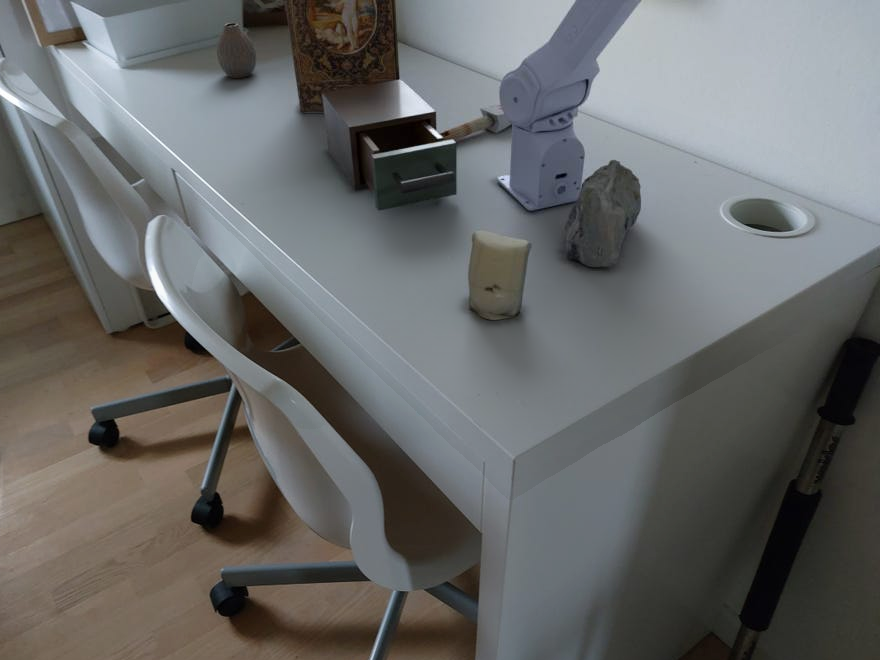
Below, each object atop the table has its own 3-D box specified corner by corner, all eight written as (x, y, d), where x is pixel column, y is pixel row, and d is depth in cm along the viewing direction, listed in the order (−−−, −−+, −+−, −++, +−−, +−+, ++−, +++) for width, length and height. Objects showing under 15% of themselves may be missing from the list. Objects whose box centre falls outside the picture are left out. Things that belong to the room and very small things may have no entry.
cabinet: (437, 174, 96) (436, 111, 91) (355, 191, 94) (348, 127, 88) (403, 137, 106) (401, 79, 101) (328, 152, 104) (321, 92, 98)
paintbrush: (546, 96, 108) (440, 137, 100) (545, 113, 109) (441, 155, 102) (529, 89, 110) (424, 129, 103) (528, 106, 112) (425, 147, 104)
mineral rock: (619, 207, 87) (632, 126, 80) (685, 245, 79) (705, 160, 73) (532, 236, 82) (539, 153, 76) (593, 279, 75) (606, 192, 69)
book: (297, 113, 116) (271, -63, 100) (304, 101, 120) (280, -70, 104) (397, 111, 114) (387, -68, 98) (400, 99, 118) (391, -75, 103)
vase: (217, 73, 134) (207, 23, 128) (253, 66, 136) (244, 17, 130) (226, 83, 129) (216, 32, 124) (263, 76, 131) (254, 25, 126)
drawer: (470, 209, 86) (470, 156, 82) (389, 226, 84) (385, 173, 80) (421, 156, 99) (420, 108, 94) (349, 170, 96) (344, 121, 92)
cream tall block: (517, 290, 74) (522, 222, 69) (532, 319, 70) (538, 249, 65) (463, 297, 74) (464, 229, 69) (475, 327, 70) (477, 257, 65)
